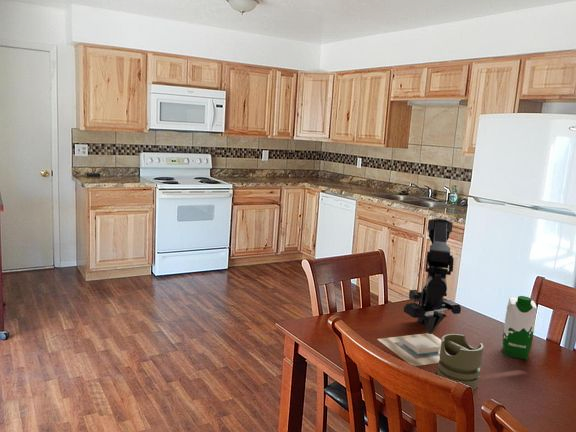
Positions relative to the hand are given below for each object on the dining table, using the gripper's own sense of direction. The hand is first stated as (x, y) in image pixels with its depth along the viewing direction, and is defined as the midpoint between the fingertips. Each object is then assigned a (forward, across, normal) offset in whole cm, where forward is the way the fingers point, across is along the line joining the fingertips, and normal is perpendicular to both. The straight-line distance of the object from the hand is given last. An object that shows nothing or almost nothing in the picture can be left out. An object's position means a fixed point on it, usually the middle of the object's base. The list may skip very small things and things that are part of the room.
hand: (429, 333), depth 164 cm
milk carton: (+6, -29, +9) cm, 31 cm away
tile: (+4, -1, 0) cm, 4 cm away
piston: (+6, +4, +19) cm, 20 cm away
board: (+6, +2, 0) cm, 6 cm away
